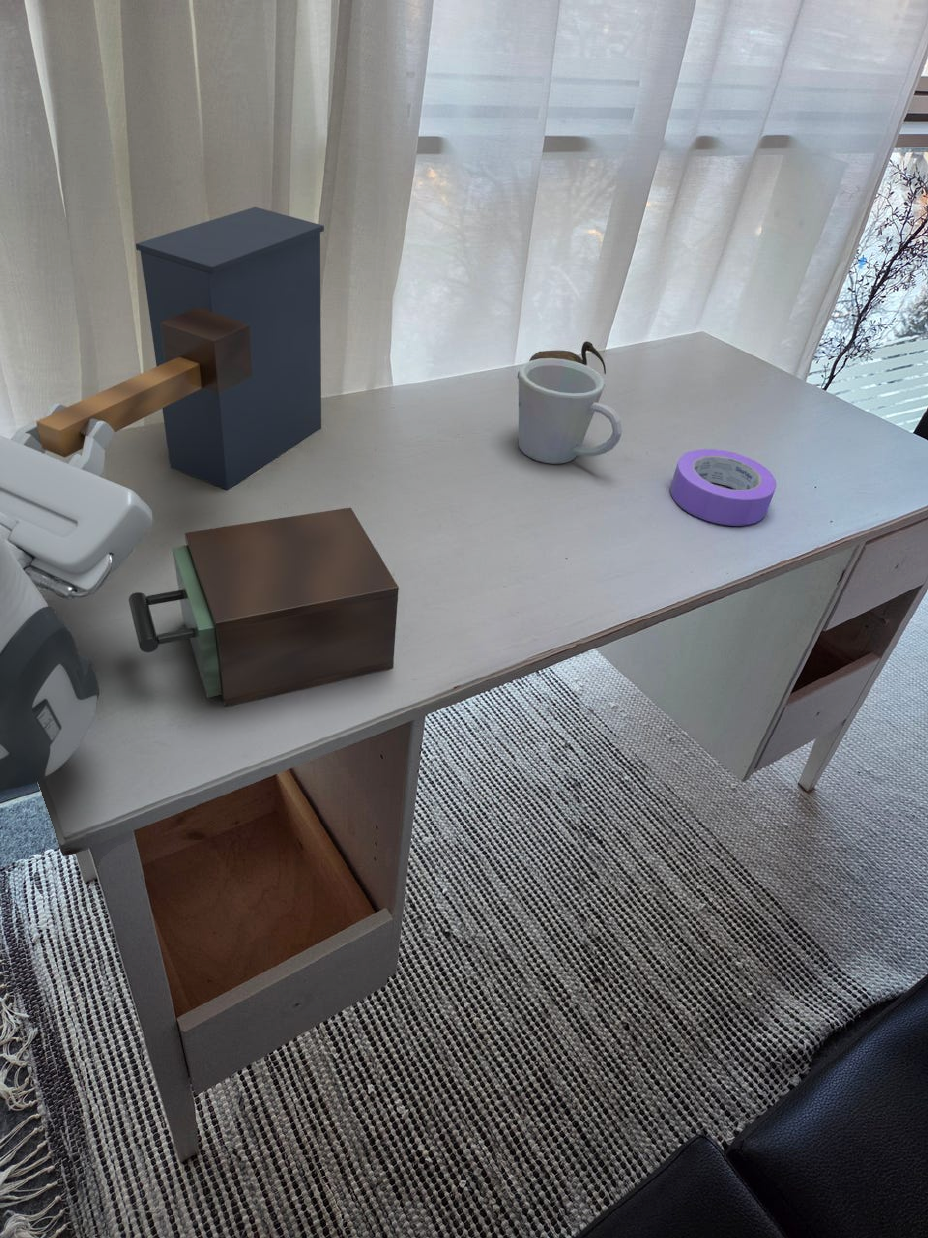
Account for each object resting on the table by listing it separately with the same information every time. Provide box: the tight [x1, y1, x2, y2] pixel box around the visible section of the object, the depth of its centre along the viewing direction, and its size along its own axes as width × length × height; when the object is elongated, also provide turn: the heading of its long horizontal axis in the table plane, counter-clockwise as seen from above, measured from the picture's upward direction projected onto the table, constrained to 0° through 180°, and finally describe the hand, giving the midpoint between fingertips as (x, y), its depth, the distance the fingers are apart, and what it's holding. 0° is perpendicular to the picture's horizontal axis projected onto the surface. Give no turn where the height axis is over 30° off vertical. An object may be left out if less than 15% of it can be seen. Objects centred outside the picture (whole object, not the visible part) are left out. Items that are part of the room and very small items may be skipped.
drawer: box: [128, 545, 222, 698], centre depth 70 cm, size 18×11×7 cm, turn 114°
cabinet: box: [184, 507, 400, 708], centre depth 72 cm, size 15×12×9 cm
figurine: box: [517, 340, 607, 378], centre depth 117 cm, size 14×4×9 cm, turn 40°
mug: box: [518, 358, 623, 465], centre depth 102 cm, size 10×15×10 cm
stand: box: [135, 206, 325, 491], centre depth 92 cm, size 18×9×24 cm, turn 153°
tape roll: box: [669, 448, 777, 527], centre depth 100 cm, size 12×12×4 cm
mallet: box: [35, 308, 252, 458], centre depth 72 cm, size 21×6×5 cm, turn 153°
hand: (86, 416), depth 67 cm, fingers closed on mallet, 2 cm apart
